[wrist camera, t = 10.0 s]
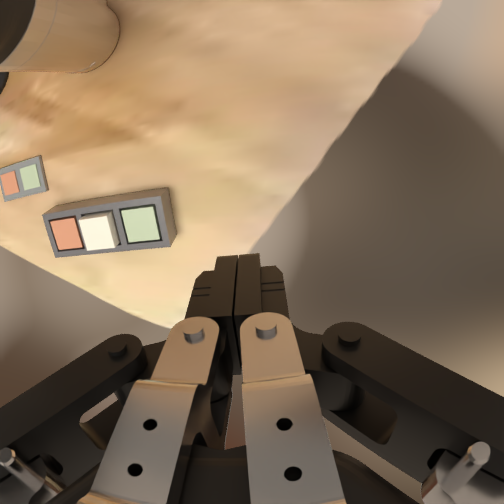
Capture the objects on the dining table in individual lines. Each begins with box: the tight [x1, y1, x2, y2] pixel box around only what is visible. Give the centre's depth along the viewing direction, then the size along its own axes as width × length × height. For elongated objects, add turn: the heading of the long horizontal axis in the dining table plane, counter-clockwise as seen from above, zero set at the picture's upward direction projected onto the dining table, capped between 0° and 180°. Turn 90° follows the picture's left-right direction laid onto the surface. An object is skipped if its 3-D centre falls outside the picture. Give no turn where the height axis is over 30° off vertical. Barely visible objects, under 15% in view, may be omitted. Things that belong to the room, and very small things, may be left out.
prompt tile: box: [0, 155, 48, 202], centre depth 36 cm, size 5×9×1 cm, turn 95°
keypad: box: [42, 188, 177, 258], centre depth 38 cm, size 6×17×4 cm, turn 95°
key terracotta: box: [50, 215, 84, 250], centre depth 38 cm, size 4×4×2 cm
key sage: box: [121, 204, 162, 242], centre depth 37 cm, size 4×4×2 cm
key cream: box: [79, 209, 120, 251], centre depth 36 cm, size 4×4×2 cm
